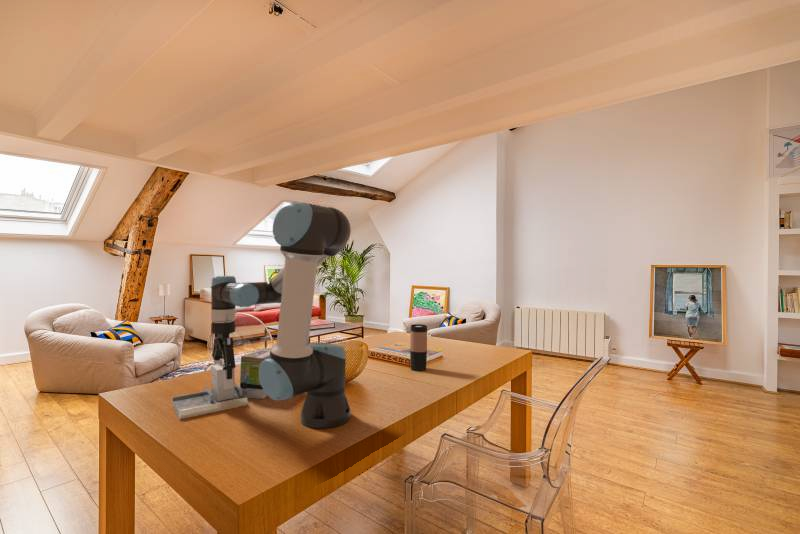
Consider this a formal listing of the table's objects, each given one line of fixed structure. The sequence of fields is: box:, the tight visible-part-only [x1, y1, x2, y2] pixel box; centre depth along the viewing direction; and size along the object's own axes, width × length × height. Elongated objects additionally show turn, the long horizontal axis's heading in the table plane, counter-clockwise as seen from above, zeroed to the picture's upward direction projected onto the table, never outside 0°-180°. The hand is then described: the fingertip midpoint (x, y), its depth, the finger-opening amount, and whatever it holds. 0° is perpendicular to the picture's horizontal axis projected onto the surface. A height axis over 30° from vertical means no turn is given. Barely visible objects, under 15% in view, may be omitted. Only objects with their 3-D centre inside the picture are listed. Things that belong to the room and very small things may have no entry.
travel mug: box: [409, 323, 428, 372], centre depth 176 cm, size 8×8×20 cm
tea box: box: [239, 347, 270, 400], centre depth 143 cm, size 15×10×15 cm, turn 168°
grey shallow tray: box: [171, 381, 248, 420], centre depth 129 cm, size 14×20×5 cm
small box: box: [210, 363, 235, 401], centre depth 131 cm, size 8×6×10 cm
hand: (222, 383), depth 131 cm, fingers open, 13 cm apart
